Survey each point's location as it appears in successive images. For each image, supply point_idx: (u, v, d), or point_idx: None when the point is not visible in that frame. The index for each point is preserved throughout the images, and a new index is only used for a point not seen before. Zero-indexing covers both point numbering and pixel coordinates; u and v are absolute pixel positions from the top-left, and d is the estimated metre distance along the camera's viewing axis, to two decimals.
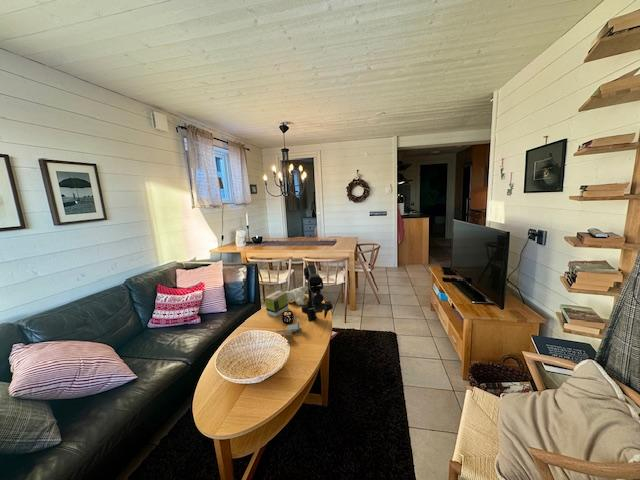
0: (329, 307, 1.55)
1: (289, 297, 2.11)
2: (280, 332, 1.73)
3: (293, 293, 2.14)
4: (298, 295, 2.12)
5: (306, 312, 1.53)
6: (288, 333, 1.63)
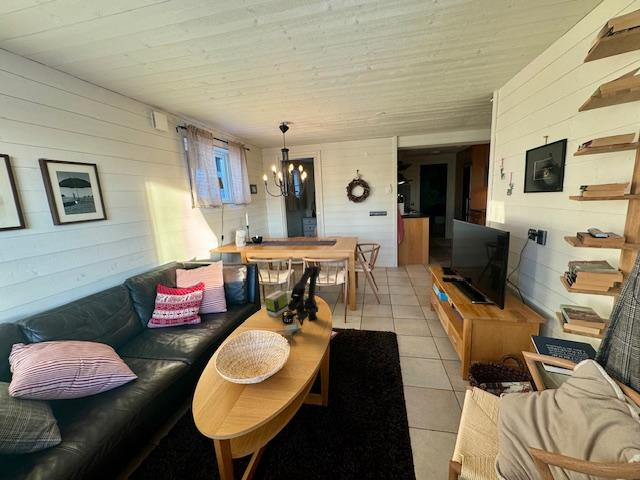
0: (312, 314, 1.70)
1: (290, 297, 2.11)
2: (280, 332, 1.73)
3: None
4: None
5: None
6: (288, 333, 1.63)
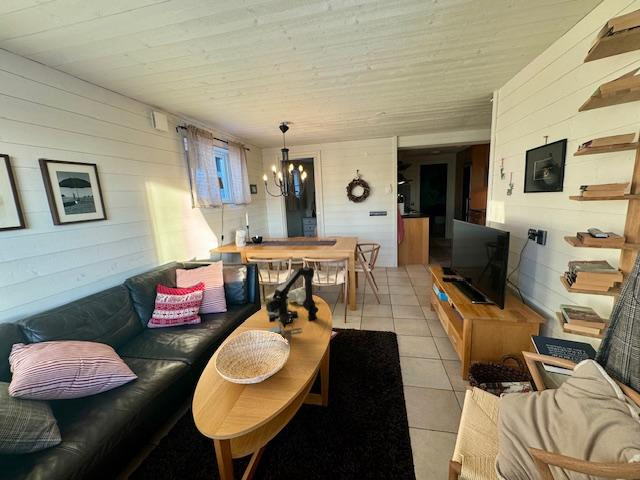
0: (294, 316, 1.68)
1: (290, 297, 2.11)
2: None
3: (294, 292, 2.14)
4: (299, 295, 2.12)
5: (273, 321, 1.66)
6: (288, 333, 1.63)
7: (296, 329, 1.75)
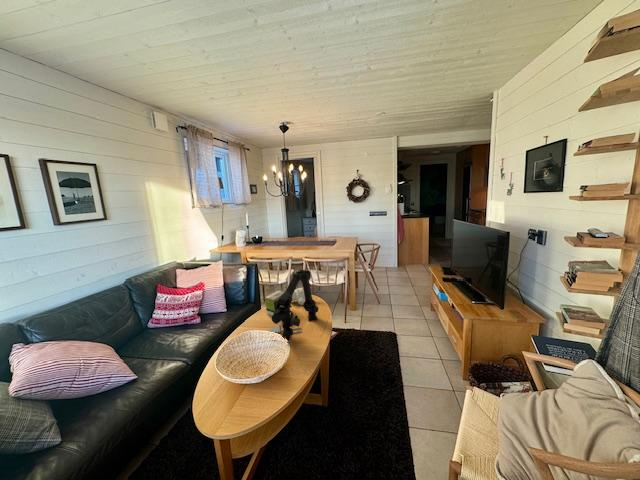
0: None
1: None
2: None
3: (295, 292, 2.14)
4: (300, 295, 2.12)
5: (292, 332, 1.57)
6: None
7: (296, 329, 1.75)
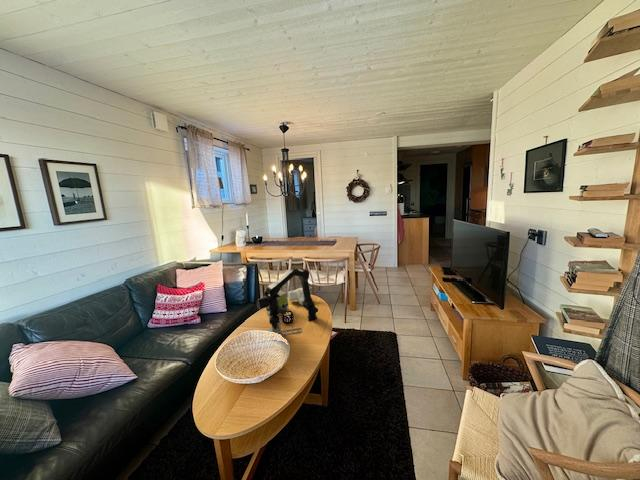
0: None
1: (292, 297, 2.11)
2: None
3: (296, 292, 2.14)
4: (301, 295, 2.12)
5: (279, 320, 1.63)
6: None
7: (296, 329, 1.75)
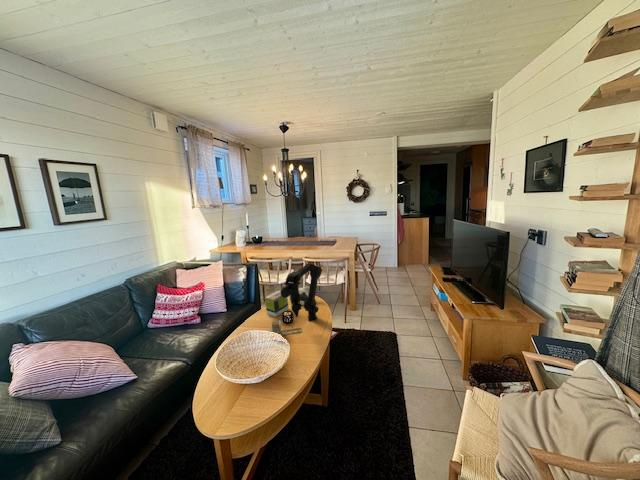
0: None
1: None
2: None
3: None
4: None
5: None
6: (276, 323, 1.69)
7: (296, 329, 1.75)
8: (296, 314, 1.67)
